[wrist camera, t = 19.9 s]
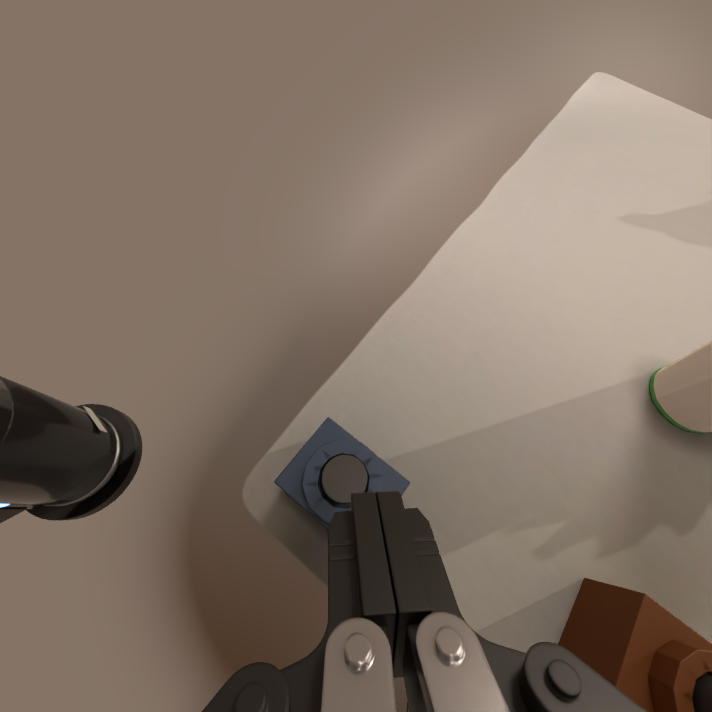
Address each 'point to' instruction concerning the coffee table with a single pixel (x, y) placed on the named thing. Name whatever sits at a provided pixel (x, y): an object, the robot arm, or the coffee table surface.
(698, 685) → the grey round disc
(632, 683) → the brown block with collar
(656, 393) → the cup
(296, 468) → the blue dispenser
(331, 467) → the dark grey round cap
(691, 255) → the coffee table surface
